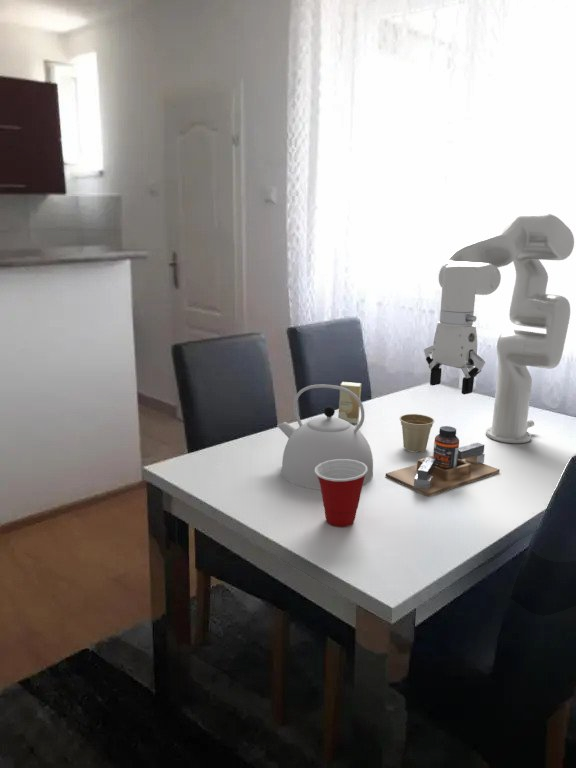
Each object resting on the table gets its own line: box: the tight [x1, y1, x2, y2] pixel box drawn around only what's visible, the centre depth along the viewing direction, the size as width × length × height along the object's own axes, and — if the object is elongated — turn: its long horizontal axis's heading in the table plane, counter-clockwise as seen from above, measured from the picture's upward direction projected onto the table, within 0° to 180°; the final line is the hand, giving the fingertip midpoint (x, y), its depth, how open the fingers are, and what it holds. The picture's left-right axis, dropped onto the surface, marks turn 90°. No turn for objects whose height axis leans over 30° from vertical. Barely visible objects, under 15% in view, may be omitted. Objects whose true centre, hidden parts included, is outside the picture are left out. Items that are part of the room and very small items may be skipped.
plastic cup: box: [315, 459, 368, 528], centre depth 128 cm, size 11×11×12 cm
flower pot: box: [399, 413, 435, 453], centre depth 172 cm, size 9×9×9 cm
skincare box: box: [337, 381, 362, 425], centre depth 195 cm, size 6×4×12 cm
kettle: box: [276, 383, 374, 491], centre depth 153 cm, size 25×23×22 cm
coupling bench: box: [385, 455, 501, 497], centre depth 155 cm, size 26×14×3 cm, turn 126°
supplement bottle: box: [432, 425, 460, 470], centre depth 154 cm, size 6×6×11 cm
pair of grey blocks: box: [414, 442, 485, 491], centre depth 153 cm, size 28×8×5 cm, turn 126°
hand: (450, 388), depth 150 cm, fingers open, 9 cm apart
